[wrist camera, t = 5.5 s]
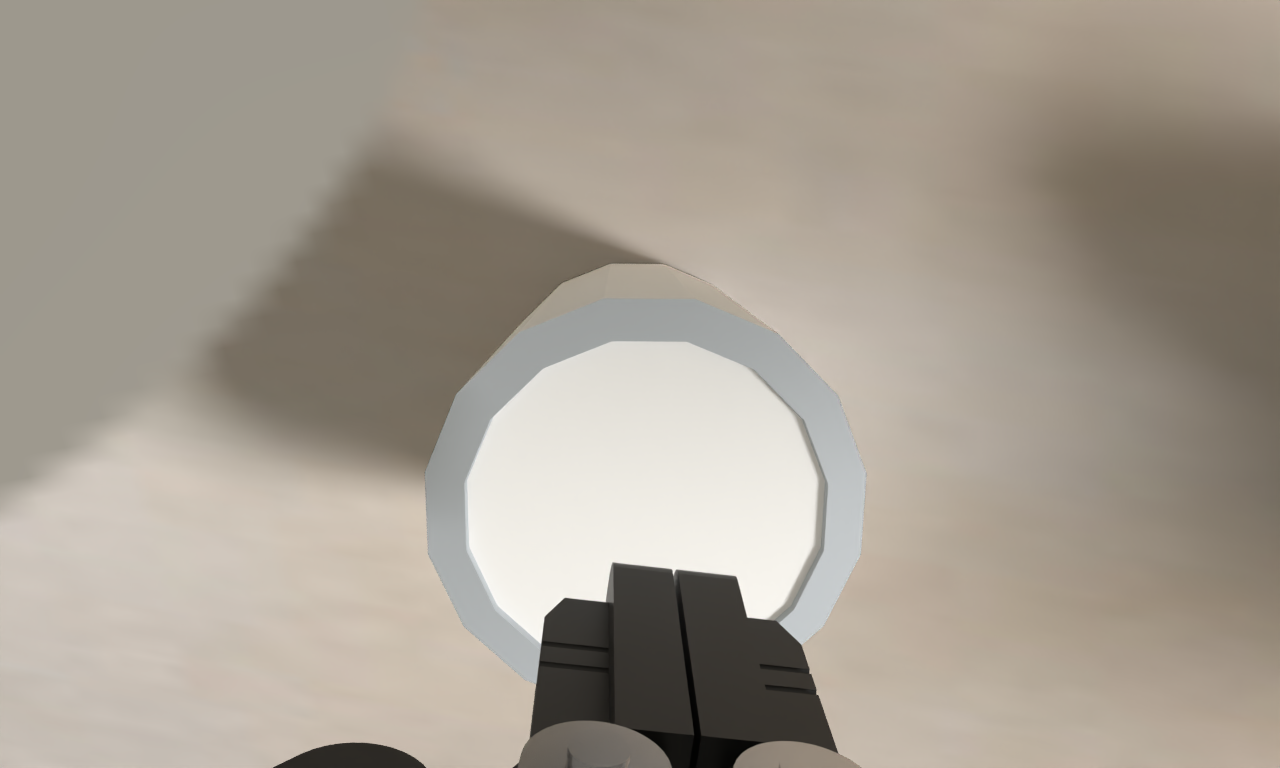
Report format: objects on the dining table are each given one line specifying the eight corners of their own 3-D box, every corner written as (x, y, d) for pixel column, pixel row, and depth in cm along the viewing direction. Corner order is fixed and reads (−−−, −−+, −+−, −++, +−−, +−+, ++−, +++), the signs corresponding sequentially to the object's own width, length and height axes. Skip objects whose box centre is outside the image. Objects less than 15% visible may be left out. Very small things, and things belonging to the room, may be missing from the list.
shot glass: (769, 202, 23) (838, 256, 16) (816, 509, 24) (895, 674, 18) (441, 265, 23) (371, 344, 16) (512, 565, 25) (476, 749, 18)
